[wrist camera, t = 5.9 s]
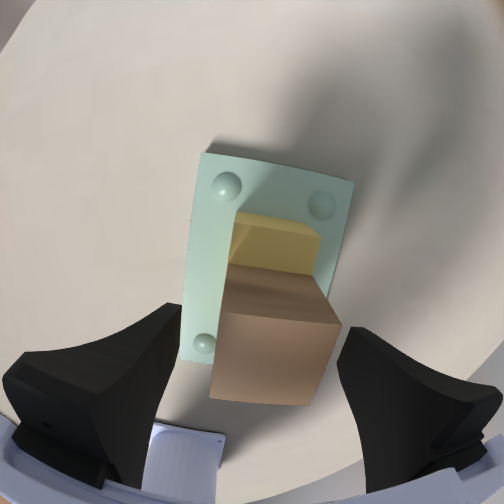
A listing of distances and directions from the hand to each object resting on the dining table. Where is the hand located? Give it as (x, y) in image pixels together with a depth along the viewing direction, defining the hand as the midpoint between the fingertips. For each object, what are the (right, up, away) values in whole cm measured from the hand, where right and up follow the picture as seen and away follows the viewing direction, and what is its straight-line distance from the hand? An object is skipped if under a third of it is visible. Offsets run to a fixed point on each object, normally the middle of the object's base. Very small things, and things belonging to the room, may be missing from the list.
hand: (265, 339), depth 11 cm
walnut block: (0, +1, +2) cm, 3 cm away
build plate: (0, +2, +7) cm, 7 cm away
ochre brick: (0, +2, +6) cm, 6 cm away
